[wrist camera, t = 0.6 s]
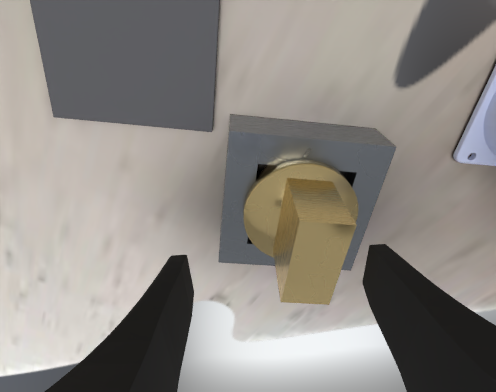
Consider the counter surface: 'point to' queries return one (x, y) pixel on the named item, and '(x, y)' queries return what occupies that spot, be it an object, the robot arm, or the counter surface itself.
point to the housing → (289, 149)
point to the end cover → (302, 226)
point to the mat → (130, 60)
